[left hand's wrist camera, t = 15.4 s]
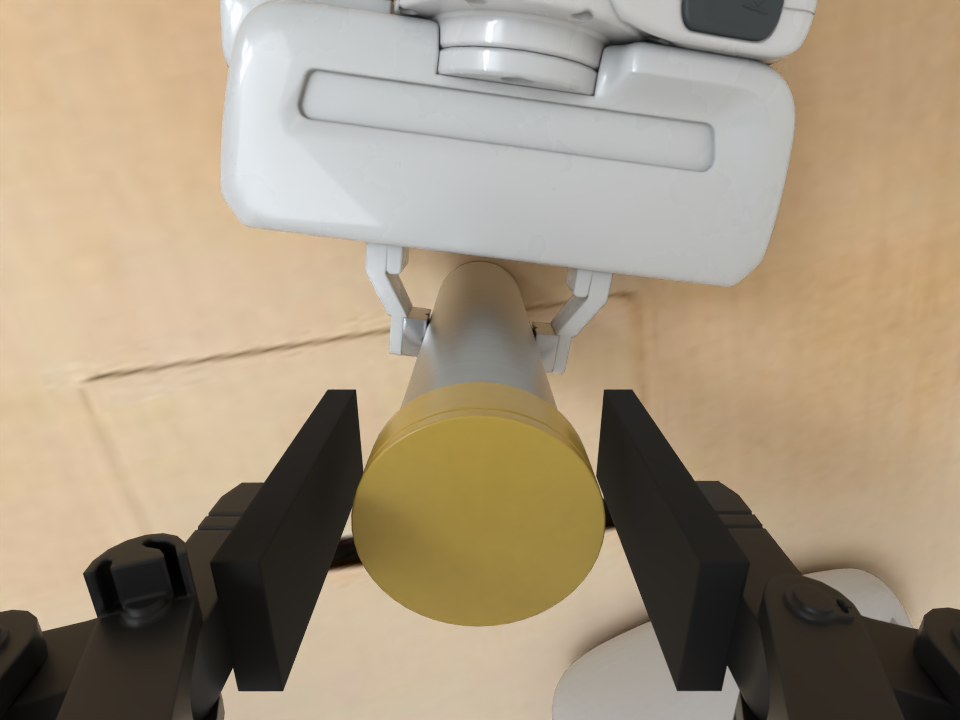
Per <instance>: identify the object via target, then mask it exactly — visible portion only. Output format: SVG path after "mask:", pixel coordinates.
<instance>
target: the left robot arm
mask: <svg viewBox="0 0 960 720" xmlns="http://www.w3.org/2000/svg"><path fill="white" fill-rule="evenodd" d="M362 475H363V463H362V452H361V441H360V429H359V418H358V407H357V396H356V390H327V392H326V393H325V395H324V396H323V398H322V399H321V400H320V402H319V403H318V405H317V406H316V408H315V409H314V411H313V412H312V414H311V415H310V417H309V418H308V419H307V421H306V422H305V424H304V425H303V427H302V428H301V430H300V431H299V433H298V434H297V436H296V437H295V438H294V440H293V441H292V443H291V444H290V446H289V447H288V449H287V450H286V452H285V453H284V455H283V456H282V457H281V459H280V460H279V462H278V463H277V465H276V466H275V468H274V469H273V471H272V472H271V474H270V475H269V476H268V478H267V479H266V481H265V482H264V483H241V484H239V485H238V486H237V487H235V488H234V489H232V490H231V491H229V492H228V493H226V494H225V495H223V496H222V497H221V498H220V499H219V501H218V502H217V503H216V504H215V506H214V507H213V508H212V510H211V511H210V512H209V516H206V517H205V519H204V520H203V521H202V522H201V524H200V525H199V526H198V530H195V531H194V533H193V534H192V535H191V536H190V538H189V539H188V540H187V541H186V543H185V542H184V541H182V540H181V539H180V538H179V537H178V536H175V535H170V534H164V533H161V534H150V535H144V536H140V537H137V538H134V539H130V540H127V541H125V542H123V543H121V544H119V545H117V546H114V547H112V548H110V549H108V550H107V551H106V552H104V553H103V554H102V555H100V556H99V557H98V558H96V559H95V560H94V561H92V563H91V564H90V565H89V567H88V568H87V569H86V570H85V572H84V573H83V575H84V578H85V581H86V584H87V587H88V590H89V593H90V596H91V599H92V602H93V605H94V608H95V611H96V614H97V617H98V618H96V619H92V620H89V621H85V622H81V623H77V624H73V625H68V626H64V627H60V628H56V629H51V630H47V631H43V632H42V630H41V628H40V625H39V623H38V620H37V617H35V616H34V615H33V614H31V613H30V612H28V611H21V610H9V611H4V612H0V720H224V714H225V712H224V705H223V699H222V695H221V691H222V689H223V687H224V685H225V683H226V681H227V679H228V677H229V675H230V673H231V671H232V669H234V673H235V678H236V682H237V687H238V691H283V690H284V687H285V684H286V682H287V679H288V677H289V674H290V671H291V669H292V666H293V663H294V661H295V658H296V655H297V653H298V650H299V647H300V645H301V642H302V639H303V637H304V634H305V631H306V629H307V626H308V623H309V621H310V618H311V615H312V613H313V610H314V607H315V605H316V602H317V599H318V597H319V594H320V591H321V589H322V586H323V583H324V581H325V578H326V575H327V573H328V570H329V567H330V565H331V562H332V560H333V557H334V554H335V552H336V549H337V546H338V544H339V541H340V538H341V536H342V533H343V530H344V528H345V525H346V522H347V520H348V517H349V514H350V512H351V509H352V506H353V501H354V498H355V494H356V491H357V488H358V485H359V483H360V480H361V477H362ZM596 477H597V480H598V482H599V485H600V488H601V490H602V493H603V496H604V498H605V501H606V504H607V506H608V509H609V512H610V514H611V517H612V520H613V522H614V525H615V528H616V530H617V533H618V536H619V538H620V541H621V544H622V546H623V549H624V552H625V554H626V557H627V559H628V562H629V565H630V567H631V570H632V573H633V575H634V578H635V581H636V583H637V586H638V589H639V591H640V594H641V597H642V599H643V602H644V605H645V607H646V610H647V613H648V615H649V618H650V621H651V623H652V626H653V629H654V631H655V634H656V637H657V639H658V642H659V645H660V647H661V650H662V653H663V655H664V658H665V661H666V663H667V666H668V669H669V671H670V674H671V676H672V679H673V682H674V684H675V687H676V690H677V691H722V687H723V682H724V678H725V674H726V669H727V666H728V668H729V670H730V672H731V674H732V676H733V678H734V680H735V682H736V684H737V686H738V688H739V690H740V691H739V695H738V699H737V703H736V707H735V711H734V716H733V720H960V610H958V609H953V608H937V609H932V610H931V611H929V612H928V613H927V614H925V615H924V617H923V620H922V623H921V625H920V628H919V630H918V629H914V628H910V627H906V626H901V625H897V624H893V623H889V622H884V621H880V620H876V619H872V618H868V617H865V616H862V615H861V614H860V612H859V611H858V609H857V608H856V606H855V605H854V604H853V603H852V602H851V601H850V600H849V599H848V598H846V597H845V596H844V595H843V594H842V593H841V592H839V591H838V590H836V589H834V588H832V587H830V586H829V585H827V584H825V583H823V582H821V581H818V580H815V579H812V578H809V577H806V576H803V575H801V573H800V572H799V571H798V569H797V568H796V567H795V566H794V564H793V563H792V562H791V561H790V559H789V558H788V557H787V556H786V554H785V553H784V552H783V550H782V549H781V548H780V547H779V545H778V544H777V543H776V542H775V540H774V539H773V538H772V537H771V535H770V534H769V533H768V531H767V530H766V529H763V527H762V524H761V523H760V521H759V520H758V519H757V518H756V516H755V515H752V511H751V510H750V509H749V507H748V506H747V505H746V504H745V502H744V501H743V500H742V499H741V497H740V496H739V495H738V494H736V493H735V492H734V491H732V490H731V489H729V488H728V487H726V486H725V485H723V484H722V483H720V482H719V481H694V479H693V478H692V476H691V475H690V474H689V472H688V471H687V469H686V468H685V466H684V465H683V463H682V462H681V460H680V459H679V457H678V456H677V455H676V453H675V452H674V450H673V449H672V447H671V446H670V444H669V443H668V441H667V440H666V438H665V437H664V436H663V434H662V433H661V431H660V430H659V428H658V427H657V425H656V424H655V422H654V421H653V419H652V418H651V417H650V415H649V414H648V412H647V411H646V409H645V408H644V406H643V405H642V403H641V402H640V400H639V399H638V398H637V396H636V395H635V393H634V392H633V390H604V396H603V407H602V418H601V430H600V441H599V452H598V463H597V474H596Z"/></svg>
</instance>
